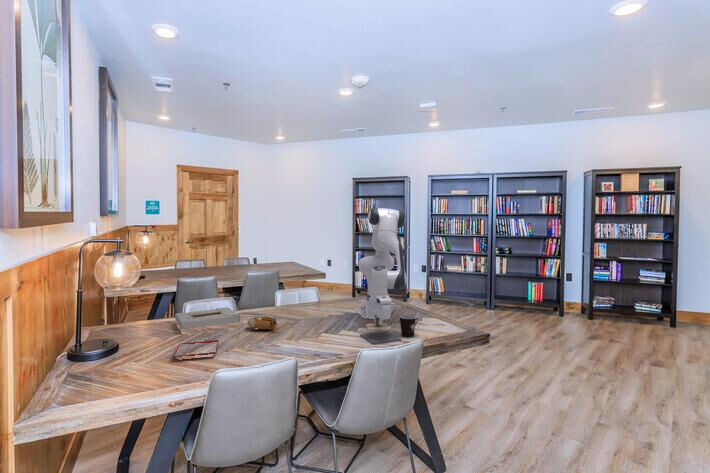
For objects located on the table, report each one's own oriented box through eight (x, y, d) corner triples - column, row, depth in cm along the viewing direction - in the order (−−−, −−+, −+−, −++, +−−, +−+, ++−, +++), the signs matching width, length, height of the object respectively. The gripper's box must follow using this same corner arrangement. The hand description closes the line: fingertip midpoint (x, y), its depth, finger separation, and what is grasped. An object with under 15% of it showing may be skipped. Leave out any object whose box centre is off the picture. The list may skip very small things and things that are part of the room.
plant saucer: (173, 363, 169) (172, 355, 169) (179, 349, 186) (179, 343, 186) (217, 359, 174) (217, 351, 174) (219, 346, 191) (219, 339, 191)
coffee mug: (403, 338, 202) (403, 319, 202) (397, 333, 211) (397, 315, 210) (423, 336, 205) (423, 317, 205) (416, 332, 214) (417, 314, 213)
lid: (362, 325, 207) (362, 316, 206) (383, 323, 212) (384, 314, 212) (372, 332, 195) (372, 323, 194) (395, 330, 200) (395, 320, 200)
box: (181, 335, 209) (240, 326, 227) (180, 321, 209) (240, 313, 226) (174, 326, 228) (229, 318, 246) (173, 313, 228) (229, 306, 246)
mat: (359, 335, 207) (359, 334, 207) (386, 332, 214) (386, 330, 214) (373, 344, 193) (373, 343, 193) (401, 340, 199) (401, 339, 199)
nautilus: (287, 332, 215) (263, 339, 205) (267, 322, 230) (243, 328, 220) (287, 318, 214) (262, 325, 204) (267, 309, 229) (243, 315, 219)
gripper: (365, 293, 211) (364, 318, 212) (382, 301, 192) (381, 329, 193) (375, 292, 213) (375, 317, 214) (393, 300, 194) (393, 328, 195)
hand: (378, 323), depth 203 cm, fingers closed on lid, 3 cm apart
